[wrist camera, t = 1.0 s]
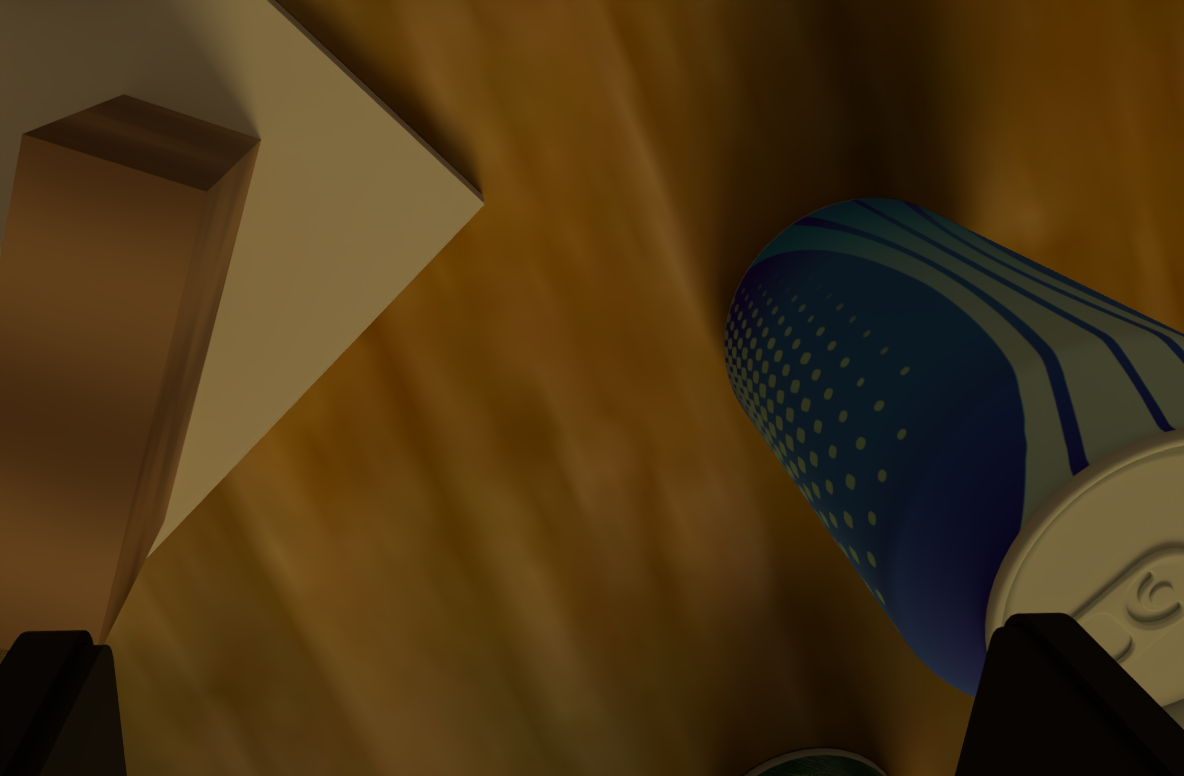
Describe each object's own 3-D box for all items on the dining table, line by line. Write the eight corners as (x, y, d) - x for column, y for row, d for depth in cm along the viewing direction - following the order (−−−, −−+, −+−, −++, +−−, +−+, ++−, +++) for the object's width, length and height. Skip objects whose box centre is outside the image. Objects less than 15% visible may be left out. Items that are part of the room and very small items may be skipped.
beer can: (704, 209, 31) (947, 425, 16) (969, 170, 31) (1433, 344, 17) (721, 456, 34) (937, 823, 19) (961, 416, 35) (1344, 741, 20)
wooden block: (164, 521, 31) (92, 666, 24) (33, 491, 30) (-77, 633, 23) (261, 139, 27) (207, 191, 21) (115, 91, 26) (11, 130, 20)
